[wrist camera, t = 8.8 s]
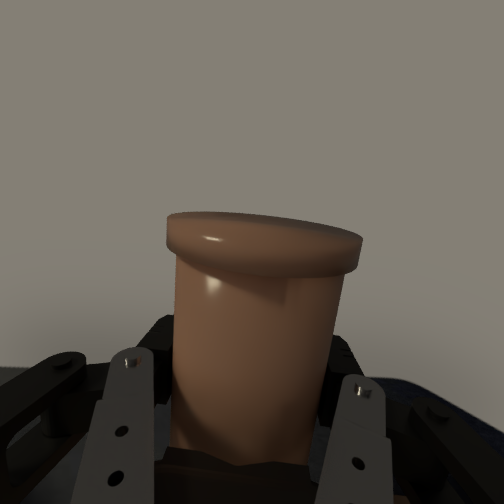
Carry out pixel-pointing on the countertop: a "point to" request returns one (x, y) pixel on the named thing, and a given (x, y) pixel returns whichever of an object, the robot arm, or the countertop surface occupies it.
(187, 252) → the tall brown tankard
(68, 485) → the countertop surface
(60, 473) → the countertop surface
